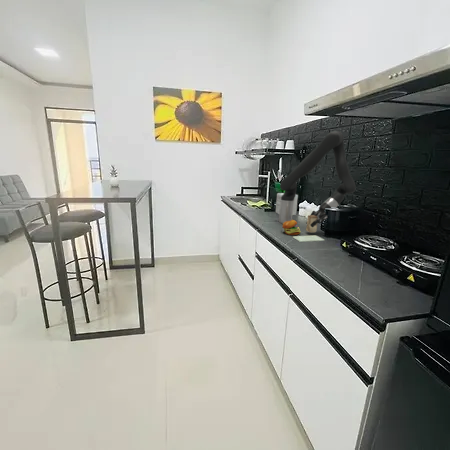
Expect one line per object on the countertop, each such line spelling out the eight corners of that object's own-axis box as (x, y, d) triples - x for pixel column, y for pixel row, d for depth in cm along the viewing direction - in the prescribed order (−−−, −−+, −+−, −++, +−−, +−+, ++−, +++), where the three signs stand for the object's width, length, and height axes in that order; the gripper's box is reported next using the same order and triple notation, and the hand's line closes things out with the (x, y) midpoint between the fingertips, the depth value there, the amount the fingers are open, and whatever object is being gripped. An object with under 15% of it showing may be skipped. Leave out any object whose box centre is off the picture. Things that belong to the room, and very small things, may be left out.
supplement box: (288, 211, 229) (289, 192, 224) (296, 215, 217) (298, 194, 212) (275, 212, 225) (276, 193, 220) (282, 215, 213) (284, 195, 208)
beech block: (306, 230, 162) (307, 215, 160) (312, 230, 163) (314, 215, 161) (309, 232, 158) (311, 217, 156) (316, 232, 159) (318, 216, 157)
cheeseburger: (301, 236, 155) (299, 221, 153) (284, 238, 158) (281, 223, 156) (300, 231, 165) (298, 217, 163) (283, 234, 168) (281, 219, 165)
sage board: (315, 236, 157) (316, 235, 157) (324, 240, 148) (324, 239, 148) (292, 237, 153) (292, 236, 153) (300, 242, 145) (300, 241, 145)
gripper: (318, 200, 164) (300, 218, 165) (332, 204, 151) (312, 224, 151) (324, 208, 167) (306, 226, 167) (338, 212, 153) (318, 232, 154)
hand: (309, 225), depth 159 cm, fingers closed on beech block, 4 cm apart
